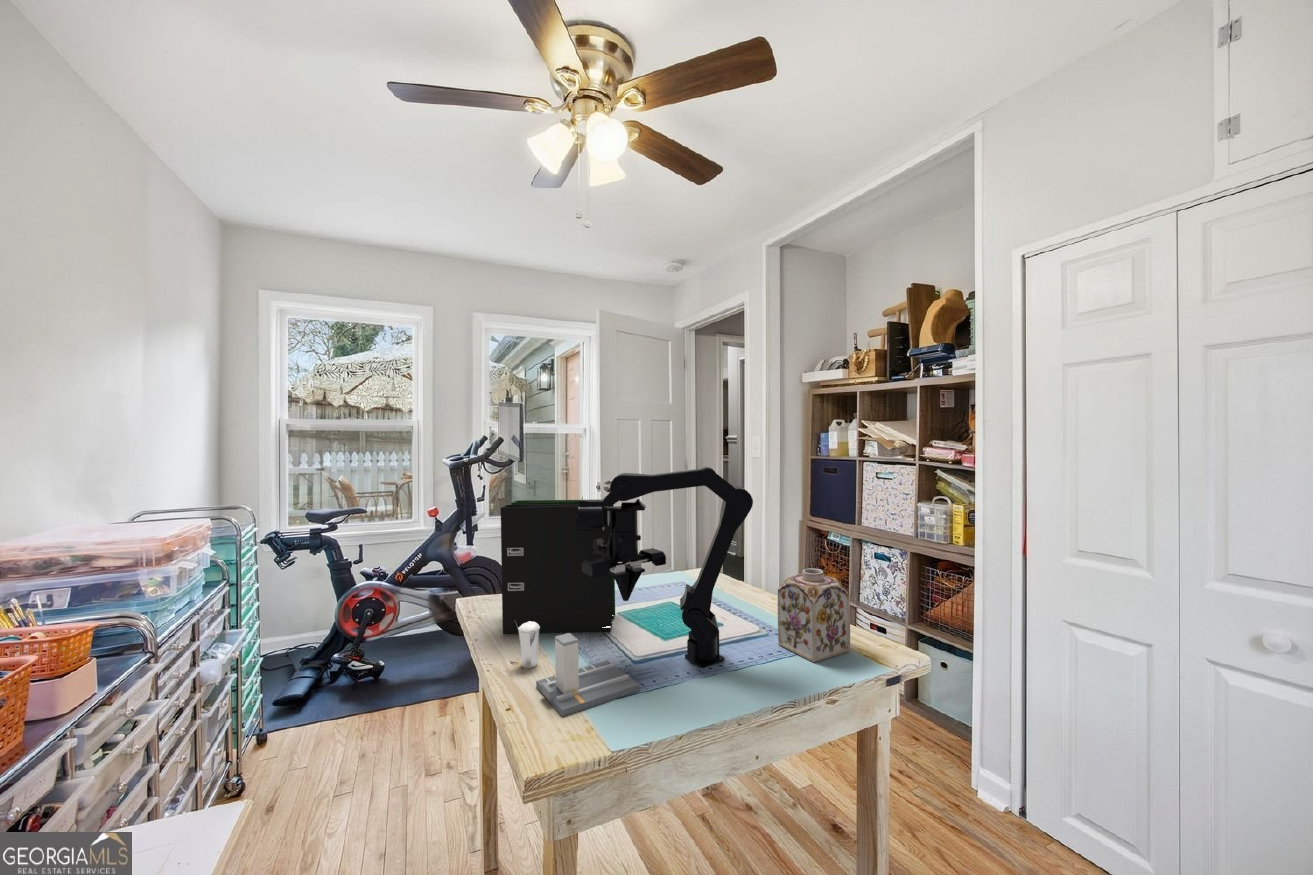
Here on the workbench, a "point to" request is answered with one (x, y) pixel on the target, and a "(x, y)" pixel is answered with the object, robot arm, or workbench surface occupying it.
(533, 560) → the binder
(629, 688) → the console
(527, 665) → the milkshake
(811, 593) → the decorative jar
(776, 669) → the workbench surface
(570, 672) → the fader tab
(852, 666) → the workbench surface
